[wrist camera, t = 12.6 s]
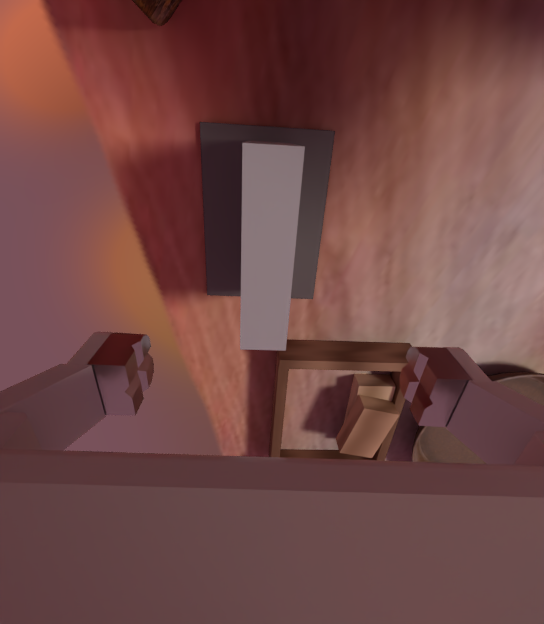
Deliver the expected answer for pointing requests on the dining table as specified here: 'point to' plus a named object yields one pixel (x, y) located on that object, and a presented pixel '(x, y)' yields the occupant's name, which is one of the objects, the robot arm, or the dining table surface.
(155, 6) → the book
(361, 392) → the block
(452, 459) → the plant saucer
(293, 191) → the block
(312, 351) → the brown open frame piece
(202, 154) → the mat
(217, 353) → the dining table surface
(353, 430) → the offcut short
